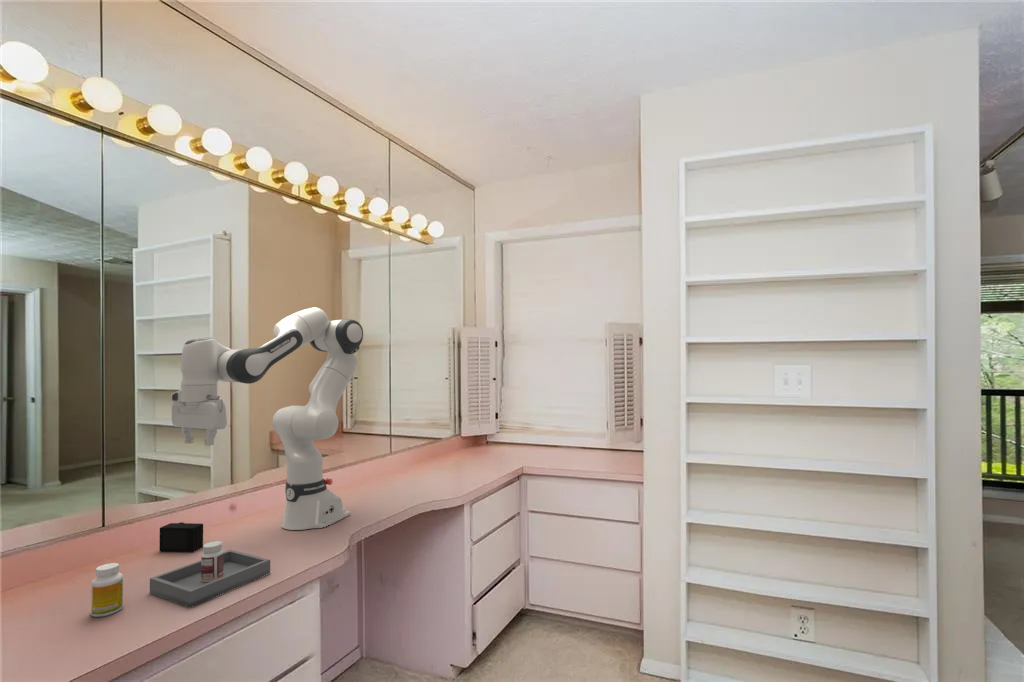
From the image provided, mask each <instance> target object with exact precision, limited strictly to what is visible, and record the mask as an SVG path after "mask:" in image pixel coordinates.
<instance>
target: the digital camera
mask: <svg viewBox="0 0 1024 682" xmlns="http://www.w3.org/2000/svg"><path fill="white" fill-rule="evenodd" d="M203 545H204V523H193V522H191V523H189V522H188V523H185V522H182V521H181V522H177V523H176V522H170V523H168V524H166V525H163V526H160V527H159V548H158V549H159V551H161V552H160V553H195V552H197V551H198V549H199V550H200V548H201V549H203ZM196 550H197V551H196ZM194 551H195V552H194Z"/></svg>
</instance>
